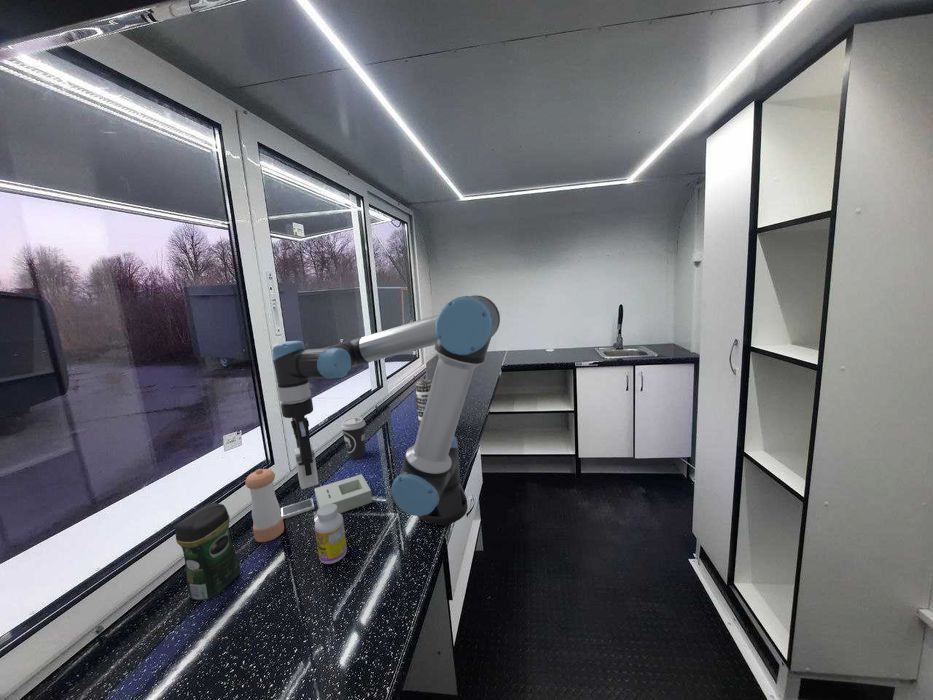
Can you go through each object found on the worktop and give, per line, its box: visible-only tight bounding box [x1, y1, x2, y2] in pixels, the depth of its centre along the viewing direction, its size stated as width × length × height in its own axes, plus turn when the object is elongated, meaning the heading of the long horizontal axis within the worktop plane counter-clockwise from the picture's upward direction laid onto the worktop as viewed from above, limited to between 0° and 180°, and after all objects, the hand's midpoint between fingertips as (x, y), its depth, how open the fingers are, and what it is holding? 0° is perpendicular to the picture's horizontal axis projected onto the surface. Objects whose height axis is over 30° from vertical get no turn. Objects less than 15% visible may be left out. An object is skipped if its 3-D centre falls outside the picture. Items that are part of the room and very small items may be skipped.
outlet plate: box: [314, 473, 373, 514], centre depth 111 cm, size 15×12×4 cm
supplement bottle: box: [314, 504, 348, 565], centre depth 87 cm, size 7×7×13 cm
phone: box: [280, 497, 316, 520], centre depth 108 cm, size 5×9×1 cm, turn 120°
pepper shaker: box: [245, 468, 285, 543], centre depth 96 cm, size 7×7×19 cm
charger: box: [293, 444, 319, 490], centre depth 96 cm, size 4×4×10 cm
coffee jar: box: [174, 502, 241, 601], centre depth 79 cm, size 10×8×19 cm
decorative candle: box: [414, 378, 432, 430], centre depth 159 cm, size 9×9×25 cm
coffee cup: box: [340, 416, 367, 460], centre depth 141 cm, size 10×10×15 cm
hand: (308, 480), depth 97 cm, fingers closed on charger, 4 cm apart
